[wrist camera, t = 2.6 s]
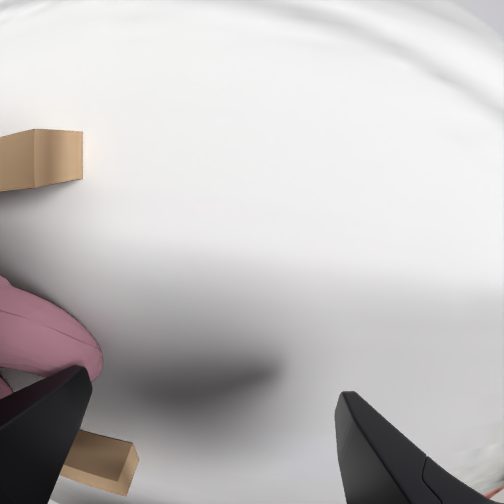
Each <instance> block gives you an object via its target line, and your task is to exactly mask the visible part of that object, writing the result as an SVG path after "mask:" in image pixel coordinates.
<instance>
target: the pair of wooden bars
mask: <svg viewBox="0 0 504 504" xmlns="http://www.w3.org/2000/svg"><path fill="white" fill-rule="evenodd" d="M82 143H83V132H79V131H65V130H48V129H32V130H28V131H23V132H19V133H15V134H11V135H7V136H3V137H0V191H8V190H18V189H28V188H37V187H41V186H46V185H51V184H56V183H61V182H66V181H71V180H76V179H82V178H83V166H82ZM138 462H139V458H138V456H137V453H136V451H135V448H134V445H133V443H129V442H124V441H120V440H116V439H111V438H107V437H103V436H100V435H96V434H92V433H89V432H85V431H82V430H79V431H78V433H77V436H76V438H75V440H74V442H73V444H72V447H71V449H70V451H69V453H68V456H67V458H66V460H65V462H64V465H63V467H62V469H61V472H60V474H59V475H61V476H64V477H66V478H69V479H72V480H74V481H77V482H80V483H83V484H86V485H89V486H92V487H95V488H98V489H101V490H105V491H108V492H111V493H115V494H119V495H122V496H127V493H128V490H129V487H130V484H131V482H132V479H133V476H134V473H135V470H136V467H137V464H138Z"/></svg>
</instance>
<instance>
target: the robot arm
mask: <svg viewBox="0 0 504 504" xmlns="http://www.w3.org/2000/svg"><path fill="white" fill-rule="evenodd" d="M91 394H92V384H91V380H90V377H89V374H88V370H87V368H86V367H84V366H80V365H72V366H70V367H68V368H66V369H64V370H62V371H60V372H57V373H55V374H53V375H51V376H49V377H47V378H45V379H43V380H40V381H38V382H36V383H34V384H32V385H30V386H28V387H25V388H23V389H21V390H19V391H17V392H15V393H12V394H10V395H8V396H6V397H4V398H1V399H0V504H48V501H49V499H50V496H51V494H52V491H53V489H54V486H55V484H56V481H57V479H58V477H59V474H60V472H61V469H62V467H63V465H64V462H65V460H66V458H67V456H68V453H69V451H70V449H71V447H72V444H73V442H74V440H75V438H76V436H77V433H78V431H79V429H80V426H81V423H82V420H83V417H84V414H85V411H86V408H87V405H88V402H89V399H90V397H91ZM335 427H336V440H337V453H338V461H339V467H340V472H341V476H342V481H343V486H344V491H345V497H346V502H347V504H504V503H499V502H495V501H493V500H490V499H488V498H487V497H485V496H483V495H482V494H480V493H478V492H477V491H475V490H474V489H472V488H471V487H469V486H467V485H466V484H464V483H463V482H461V481H460V480H458V479H457V478H455V477H454V476H452V475H451V474H450V473H448V472H447V471H446V470H444V469H443V468H442V467H440V466H439V465H438V464H437V463H436V462H434V461H433V460H432V459H431V458H430V457H428V456H427V457H426V454H425V453H424V452H423V451H421V450H420V449H419V448H418V447H417V446H416V445H415V444H413V443H412V442H411V441H410V440H409V439H408V438H406V437H405V436H404V435H403V434H402V433H401V432H400V431H399V430H397V429H396V428H395V427H394V426H393V425H392V424H391V423H390V422H388V421H387V420H386V419H385V418H384V417H383V416H382V415H381V414H379V413H378V412H377V411H376V410H375V409H374V408H373V407H372V406H371V405H369V404H368V403H367V402H366V401H365V400H364V399H363V398H362V397H361V396H360V395H358V394H357V393H356V392H354V391H343V392H341V394H340V396H339V399H338V403H337V406H336V409H335Z"/></svg>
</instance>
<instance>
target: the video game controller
mask: <svg viewBox="0 0 504 504" xmlns="http://www.w3.org/2000/svg"><path fill="white" fill-rule="evenodd" d="M72 365H80V366H84V367H86V368H87V370H88V374H89V377H90V380H91V381H93V380H95V379H96V378H97V377H98V376H99V375H100V373H101V371H102V367H103V357H102V352H101V349H100V347H99V345H98V344H97V343H96V341H95V340H94V338H93V337H92V335H91V334H90V333H89V332H88V331H87V330H86V329H85V328H84V327H83V326H82V325H81V324H80V323H79V322H78V321H77V320H75V319H74V318H73V317H72V316H70V315H69V314H68V313H67V312H65V311H64V310H62V309H61V308H59V307H57V306H56V305H54V304H52V303H51V302H49V301H46V300H44V299H42V298H40V297H38V296H36V295H33V294H31V293H29V292H26V291H23V290H21V289H18V288H15V287H12V285H11V284H10V283H9V282H8V280H7V279H5V278H3V277H2V276H0V367H5V368H10V369H16V370H21V371H25V372H29V373H32V374H36V375H39V376H42V377H45V378H47V377H49V376H51V375H53V374H55V373H57V372H60V371H62V370H64V369H66V368H68V367H70V366H72ZM12 393H13V392H12V390H11V388H10V387H9V386H8V385H7V383H6V382H5V381H4V380H3V379H2V378H1V377H0V399H1V398H4V397H6V396H8V395H10V394H12Z"/></svg>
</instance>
